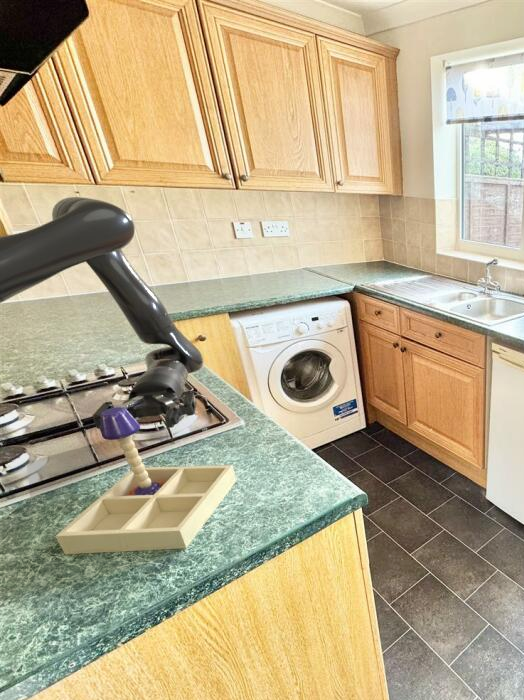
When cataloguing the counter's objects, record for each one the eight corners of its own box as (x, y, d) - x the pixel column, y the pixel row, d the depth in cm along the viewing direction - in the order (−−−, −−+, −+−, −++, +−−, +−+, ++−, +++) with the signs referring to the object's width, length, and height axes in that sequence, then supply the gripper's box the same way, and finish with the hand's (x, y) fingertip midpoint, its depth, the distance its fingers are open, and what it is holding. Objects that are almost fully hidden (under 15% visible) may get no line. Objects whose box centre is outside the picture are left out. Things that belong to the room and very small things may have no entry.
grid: (64, 554, 62) (55, 536, 60) (140, 483, 76) (133, 467, 75) (186, 548, 64) (179, 530, 62) (236, 480, 79) (232, 465, 77)
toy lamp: (131, 507, 70) (95, 420, 63) (126, 494, 72) (91, 409, 65) (167, 494, 73) (136, 410, 66) (161, 482, 76) (131, 400, 69)
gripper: (107, 377, 81) (75, 416, 68) (196, 368, 87) (182, 402, 74) (120, 411, 84) (92, 454, 71) (205, 400, 90) (193, 438, 77)
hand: (138, 427), depth 73 cm, fingers open, 8 cm apart
